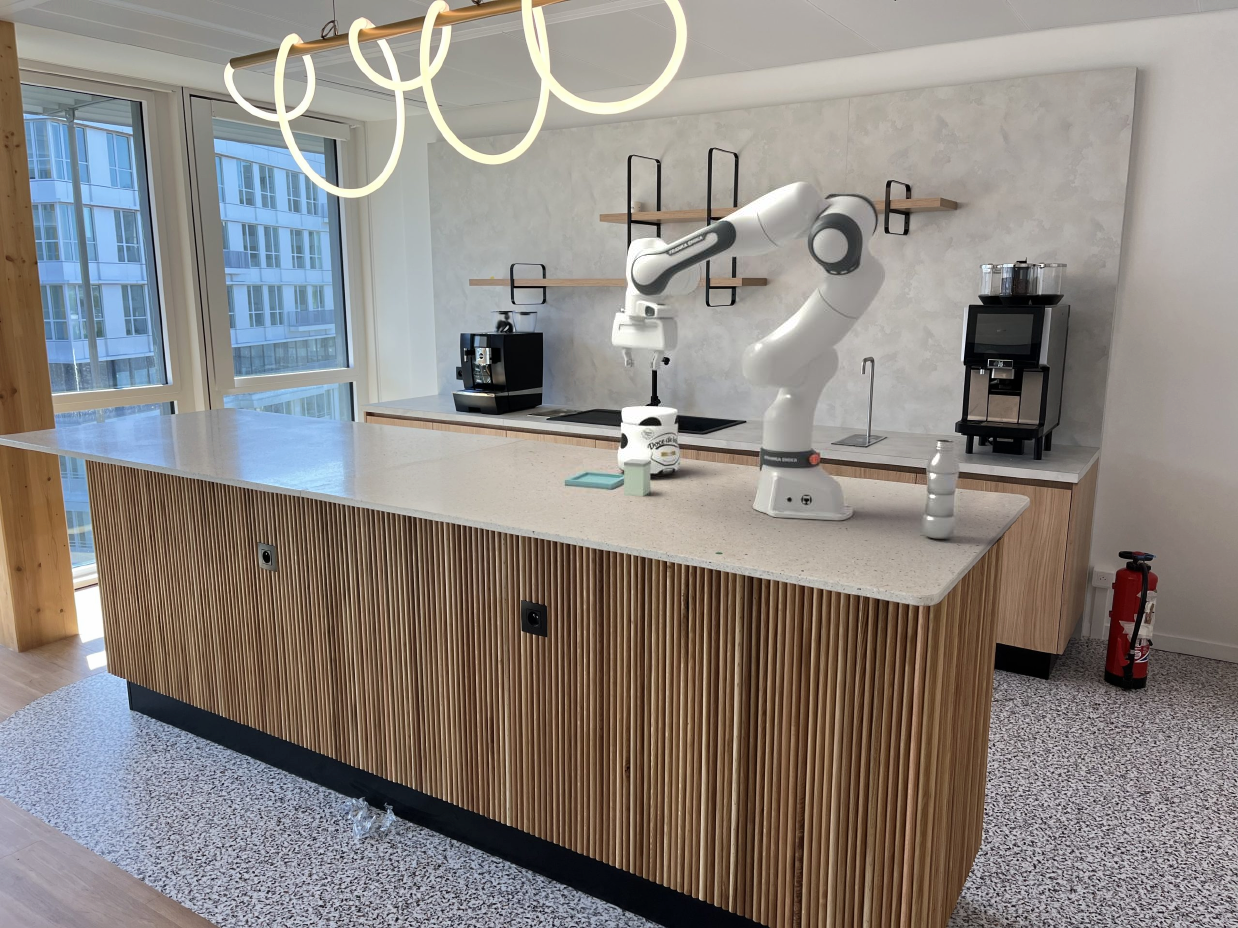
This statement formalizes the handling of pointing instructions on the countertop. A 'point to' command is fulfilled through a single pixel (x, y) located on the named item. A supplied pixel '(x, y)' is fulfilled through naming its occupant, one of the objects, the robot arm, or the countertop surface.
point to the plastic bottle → (941, 491)
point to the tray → (596, 480)
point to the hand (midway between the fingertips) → (642, 368)
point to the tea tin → (637, 477)
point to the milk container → (650, 438)
